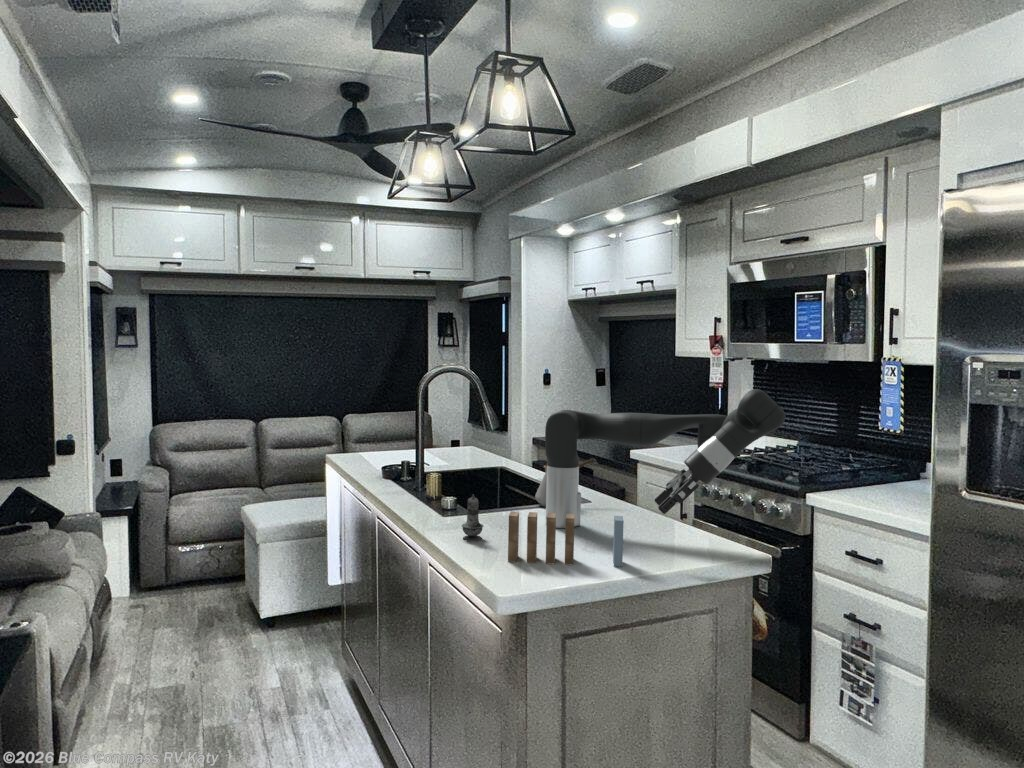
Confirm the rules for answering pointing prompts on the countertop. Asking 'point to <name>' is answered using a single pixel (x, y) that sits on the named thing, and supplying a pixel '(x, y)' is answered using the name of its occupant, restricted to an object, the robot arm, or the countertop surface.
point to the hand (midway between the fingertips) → (658, 507)
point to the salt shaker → (472, 521)
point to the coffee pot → (542, 488)
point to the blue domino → (618, 541)
